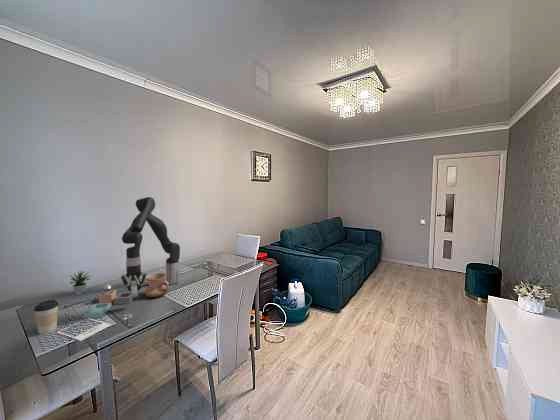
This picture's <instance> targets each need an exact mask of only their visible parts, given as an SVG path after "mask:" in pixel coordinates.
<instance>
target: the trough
mask: <svg viewBox="0 0 560 420" xmlns="http://www.w3.org/2000/svg"><path fill="white" fill-rule="evenodd" d="M110 308H112V302H110V303H95V304H93V305H92V306H91V307H90V308H88V310H87V311H85V312H83V314H82V320H85V318H90V319H95V318H96V319H97V317H98V318H102V317H103V316H104V314H105V313H106V312H107V311H108V310H109V309H110Z"/></svg>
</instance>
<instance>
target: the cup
mask: <svg viewBox="0 0 560 420" xmlns="http://www.w3.org/2000/svg"><path fill="white" fill-rule="evenodd" d="M116 296H117V290H116V289H113V290H112V289H111V294H105V295H104V292H103V291H102V292H101V293H100V294H99V295H98V304H101V303H112V302H114V298H115V297H116Z"/></svg>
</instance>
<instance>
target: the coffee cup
mask: <svg viewBox="0 0 560 420" xmlns="http://www.w3.org/2000/svg"><path fill="white" fill-rule="evenodd" d="M59 305H60V304H59V302H58V301H56V299H52V300H50V299H49V300H45V301H42V302H39V303H38V304H37V305H36V306H35V307H34V308H33V312H34V317H35V324H36V328H37V333H38V334H39V335H44V334H49V333H52V332H54V331H55V330H57V326H58V317H59V315H58V314H59Z"/></svg>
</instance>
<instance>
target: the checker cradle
mask: <svg viewBox="0 0 560 420" xmlns="http://www.w3.org/2000/svg"><path fill="white" fill-rule="evenodd" d="M135 298H136V297H131V291H127V292H126V291H125V292H119V293H118V294H116V297H115V298H114V300H113V305H114V306H116V305H117V306H119V305H126V304H127V305H129V304H131V303H132V302H133V300H134V299H135Z"/></svg>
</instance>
